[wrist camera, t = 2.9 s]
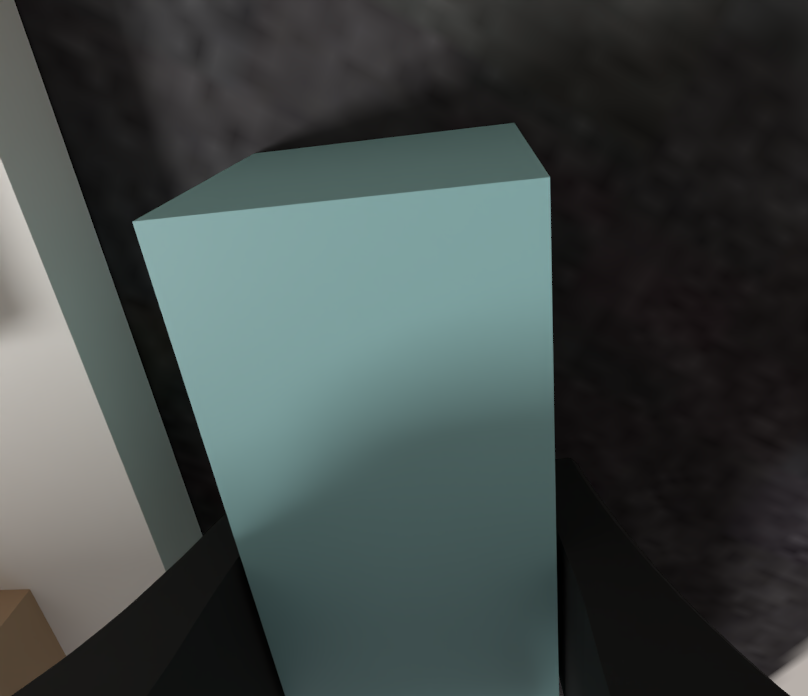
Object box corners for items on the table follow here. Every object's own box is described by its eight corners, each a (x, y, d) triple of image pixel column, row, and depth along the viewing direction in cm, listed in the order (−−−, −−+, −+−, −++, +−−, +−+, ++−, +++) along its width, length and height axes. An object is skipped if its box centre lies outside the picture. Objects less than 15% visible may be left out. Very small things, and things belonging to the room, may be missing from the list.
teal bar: (536, 663, 14) (562, 870, 11) (367, 665, 15) (339, 863, 11) (513, 122, 9) (550, 176, 5) (253, 153, 10) (131, 222, 6)
